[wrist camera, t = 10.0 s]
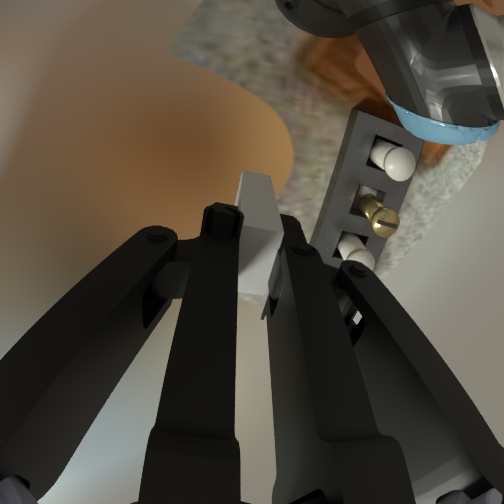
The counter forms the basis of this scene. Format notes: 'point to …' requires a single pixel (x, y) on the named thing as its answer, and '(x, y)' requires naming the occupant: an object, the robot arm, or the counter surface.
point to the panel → (348, 179)
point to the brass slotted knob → (379, 215)
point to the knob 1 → (354, 249)
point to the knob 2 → (392, 159)
